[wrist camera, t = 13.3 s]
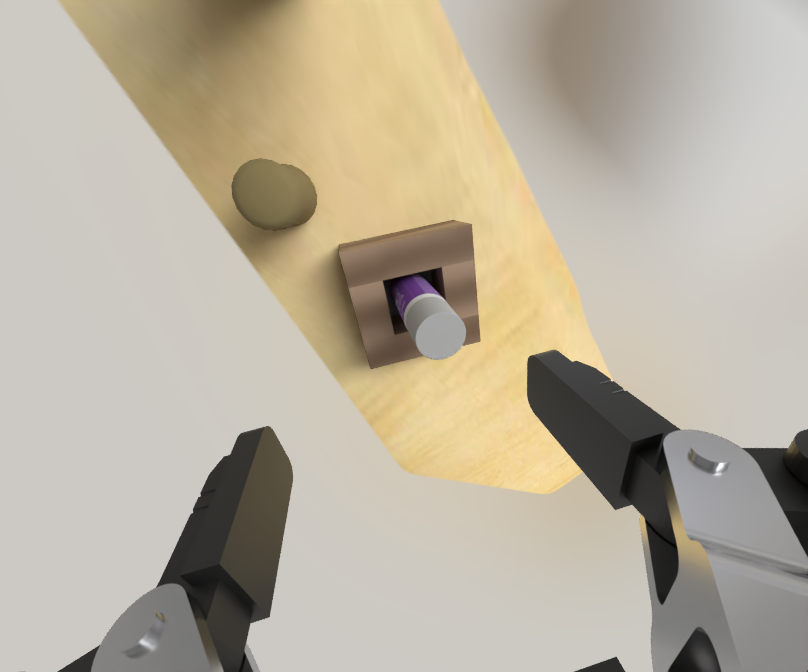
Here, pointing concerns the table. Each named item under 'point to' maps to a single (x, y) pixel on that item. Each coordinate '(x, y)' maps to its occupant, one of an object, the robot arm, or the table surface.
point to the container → (427, 317)
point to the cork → (273, 194)
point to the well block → (402, 255)
